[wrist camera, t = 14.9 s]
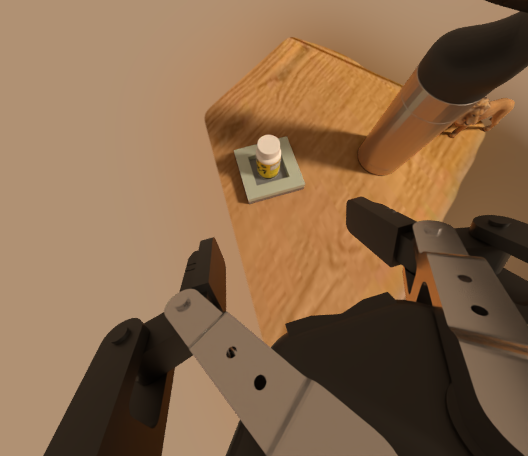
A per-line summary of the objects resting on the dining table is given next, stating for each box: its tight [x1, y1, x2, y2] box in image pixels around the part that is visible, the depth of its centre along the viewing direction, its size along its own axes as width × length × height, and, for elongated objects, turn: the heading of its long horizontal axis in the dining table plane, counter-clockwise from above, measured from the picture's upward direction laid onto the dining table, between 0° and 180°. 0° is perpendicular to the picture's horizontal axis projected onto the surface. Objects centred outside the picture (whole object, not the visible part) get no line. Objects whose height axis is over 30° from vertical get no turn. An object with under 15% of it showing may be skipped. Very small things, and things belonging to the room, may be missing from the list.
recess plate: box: [234, 136, 305, 204], centre depth 40 cm, size 12×12×2 cm
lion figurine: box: [446, 97, 515, 138], centre depth 39 cm, size 15×5×9 cm, turn 109°
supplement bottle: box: [256, 135, 281, 180], centre depth 36 cm, size 5×5×8 cm
